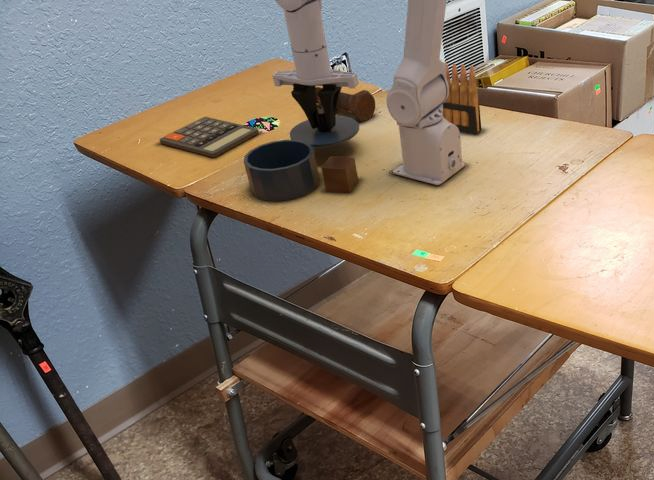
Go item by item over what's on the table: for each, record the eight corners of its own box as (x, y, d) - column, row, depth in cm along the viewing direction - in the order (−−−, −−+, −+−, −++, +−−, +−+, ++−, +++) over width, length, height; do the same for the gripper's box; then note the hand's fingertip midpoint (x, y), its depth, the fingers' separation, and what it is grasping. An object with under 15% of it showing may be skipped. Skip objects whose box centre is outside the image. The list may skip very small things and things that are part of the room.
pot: (333, 177, 119) (327, 147, 116) (286, 207, 112) (278, 176, 109) (285, 164, 124) (278, 134, 121) (237, 191, 117) (229, 161, 114)
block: (358, 180, 117) (354, 157, 115) (349, 192, 114) (345, 169, 112) (335, 179, 118) (330, 155, 116) (325, 191, 115) (320, 167, 113)
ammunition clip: (481, 130, 129) (479, 64, 122) (477, 134, 128) (473, 67, 121) (431, 122, 134) (426, 57, 126) (426, 126, 133) (420, 61, 125)
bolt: (321, 111, 146) (371, 124, 138) (302, 106, 142) (353, 119, 134) (326, 82, 145) (378, 93, 137) (307, 76, 141) (359, 88, 133)
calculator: (204, 115, 141) (258, 128, 135) (205, 120, 142) (259, 132, 135) (158, 138, 134) (212, 152, 127) (159, 143, 135) (214, 157, 128)
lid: (373, 128, 126) (370, 104, 123) (328, 155, 119) (323, 130, 116) (323, 116, 132) (318, 93, 129) (276, 142, 124) (270, 118, 121)
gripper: (359, 39, 117) (370, 118, 125) (278, 38, 120) (295, 115, 129) (343, 53, 112) (356, 135, 120) (260, 52, 115) (278, 132, 124)
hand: (324, 126), depth 124 cm, fingers closed on lid, 2 cm apart
